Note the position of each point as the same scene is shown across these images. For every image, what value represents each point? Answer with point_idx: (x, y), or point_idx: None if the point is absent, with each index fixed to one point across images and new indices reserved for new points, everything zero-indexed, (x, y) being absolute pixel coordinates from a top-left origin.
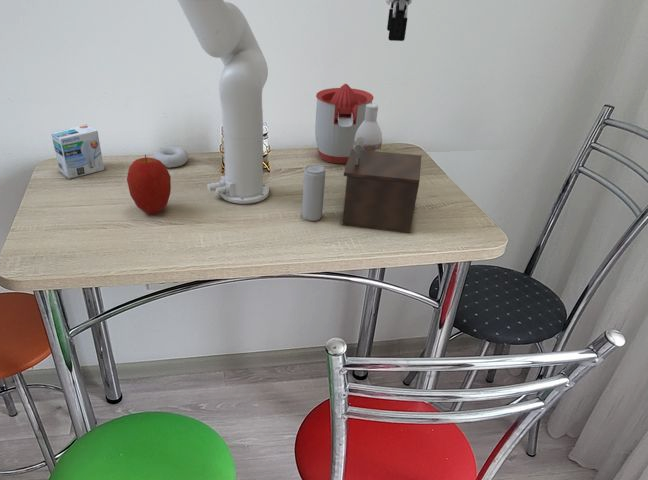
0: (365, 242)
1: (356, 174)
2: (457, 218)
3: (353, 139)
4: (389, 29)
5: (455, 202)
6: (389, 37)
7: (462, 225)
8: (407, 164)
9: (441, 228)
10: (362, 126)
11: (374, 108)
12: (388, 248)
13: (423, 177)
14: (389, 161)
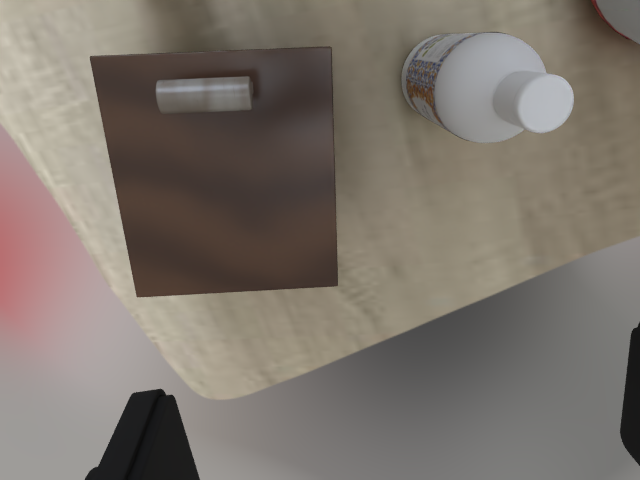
0: (82, 138)
1: (100, 104)
2: (289, 325)
3: (625, 9)
4: (123, 457)
5: (374, 317)
6: (131, 410)
7: (257, 336)
8: (245, 254)
9: (226, 297)
10: (487, 65)
11: (517, 118)
12: (78, 195)
13: (513, 237)
14: (251, 197)
